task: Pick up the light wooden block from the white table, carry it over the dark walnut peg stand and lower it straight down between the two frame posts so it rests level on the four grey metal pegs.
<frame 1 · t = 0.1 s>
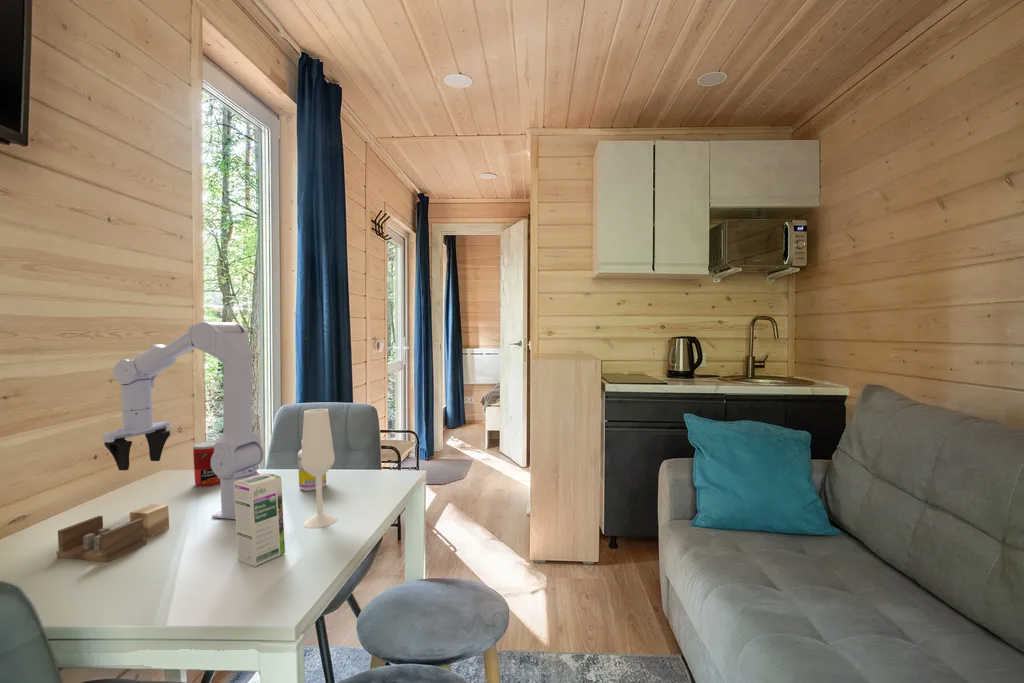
hand: (140, 465, 111), 10 cm above the table, fingers open, 7 cm apart
champagne flute: (320, 522, 99), on the table
supplement bottle: (312, 488, 122), on the table
canned food: (211, 483, 129), on the table
light wooden block: (150, 532, 96), on the table
syrup box: (261, 558, 84), on the table
stand: (102, 550, 88), on the table
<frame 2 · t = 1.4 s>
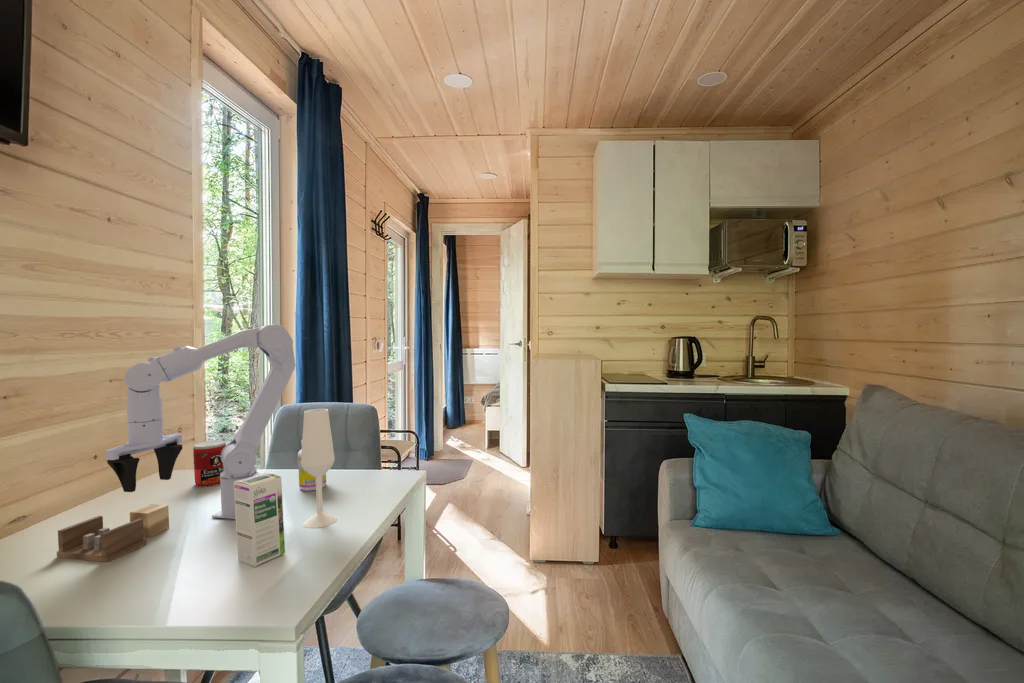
hand: (148, 485, 96), 10 cm above the table, fingers open, 7 cm apart
nothing on the table moved.
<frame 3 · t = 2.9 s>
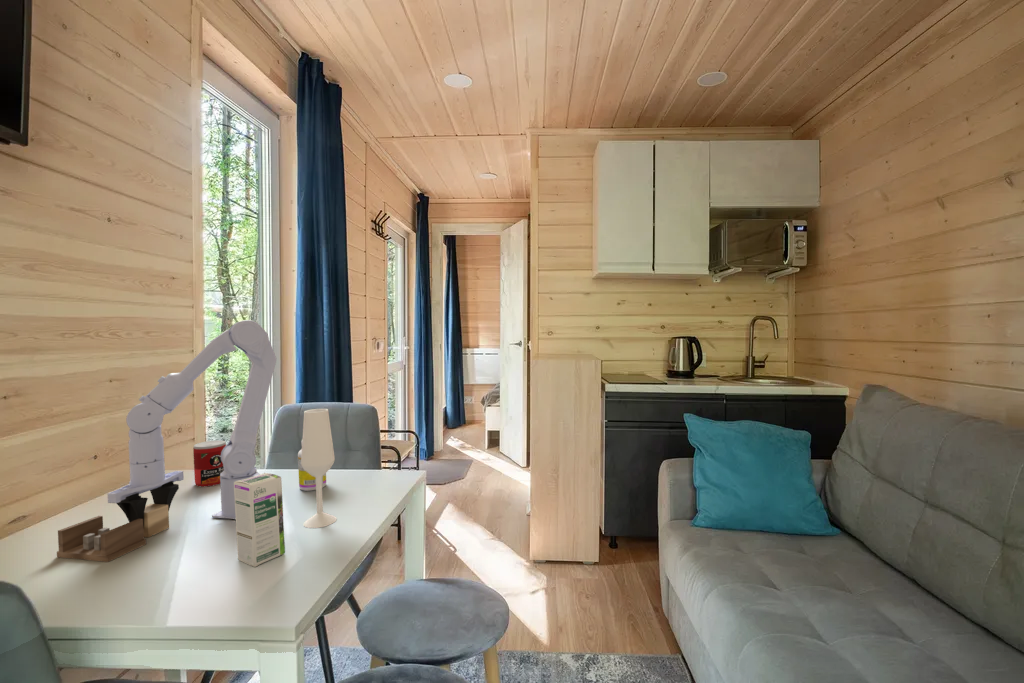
hand: (150, 525, 96), 1 cm above the table, fingers closed on light wooden block, 4 cm apart
light wooden block: (150, 531, 96), on the table, touching gripper
everything else where it was.
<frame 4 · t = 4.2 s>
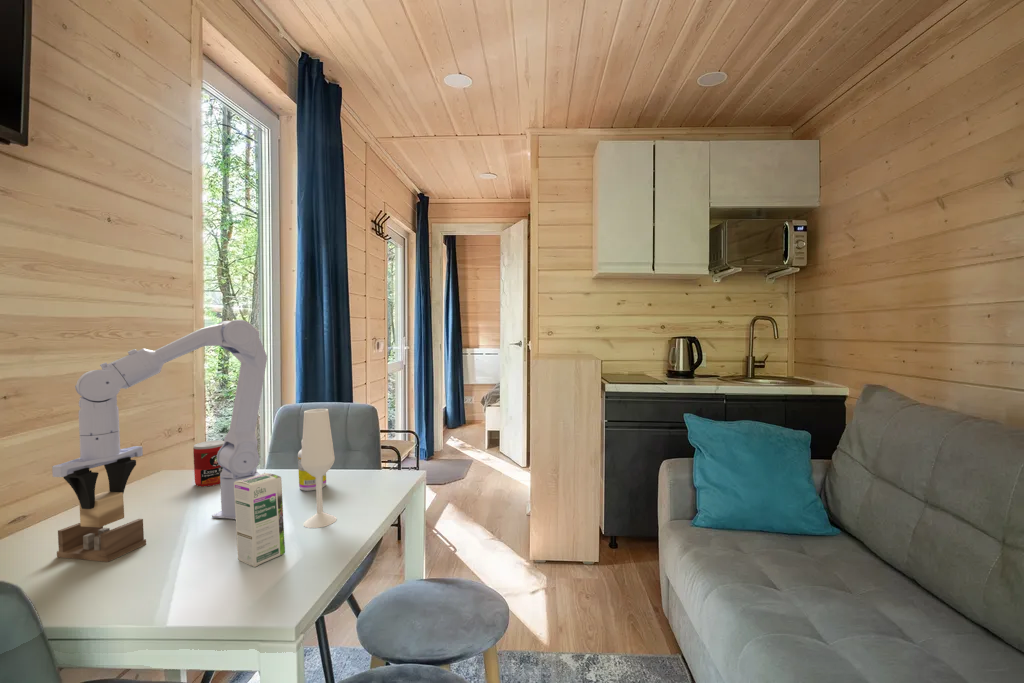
hand: (102, 503, 88), 9 cm above the table, fingers closed on light wooden block, 4 cm apart
light wooden block: (102, 522, 88), point 5 cm above the table, touching gripper
everything else where it was.
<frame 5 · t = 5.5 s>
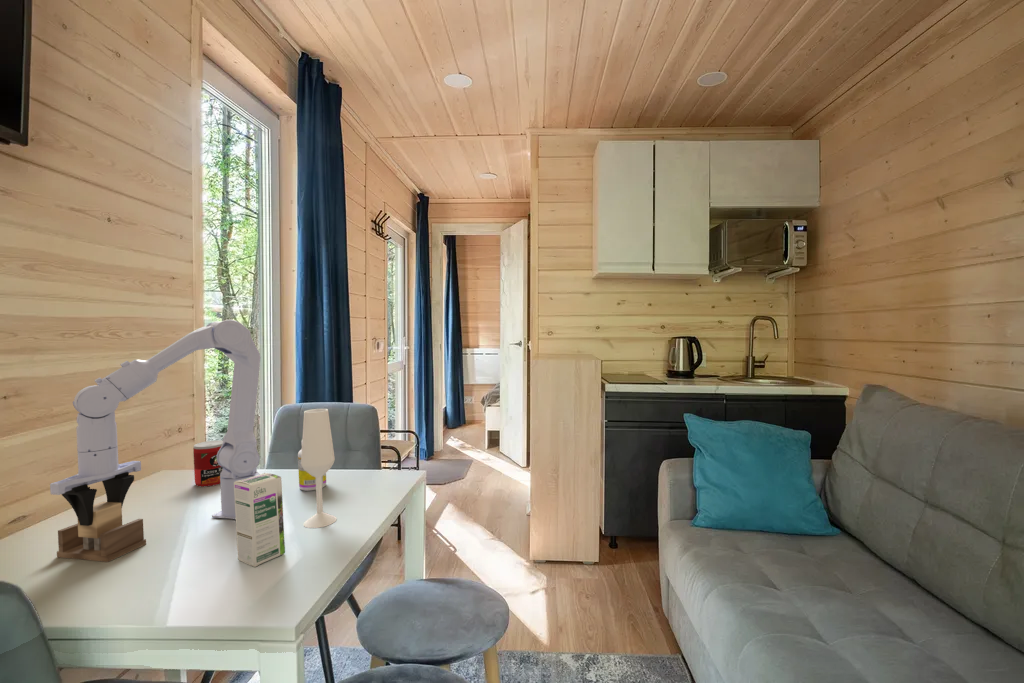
hand: (101, 519, 88), 6 cm above the table, fingers closed on light wooden block, 4 cm apart
light wooden block: (100, 532, 88), point 3 cm above the table, touching gripper, stand
everything else where it was.
when the fingers open (6 cm above the table, at t = 5.6 s): light wooden block stays where it is, resting on stand.
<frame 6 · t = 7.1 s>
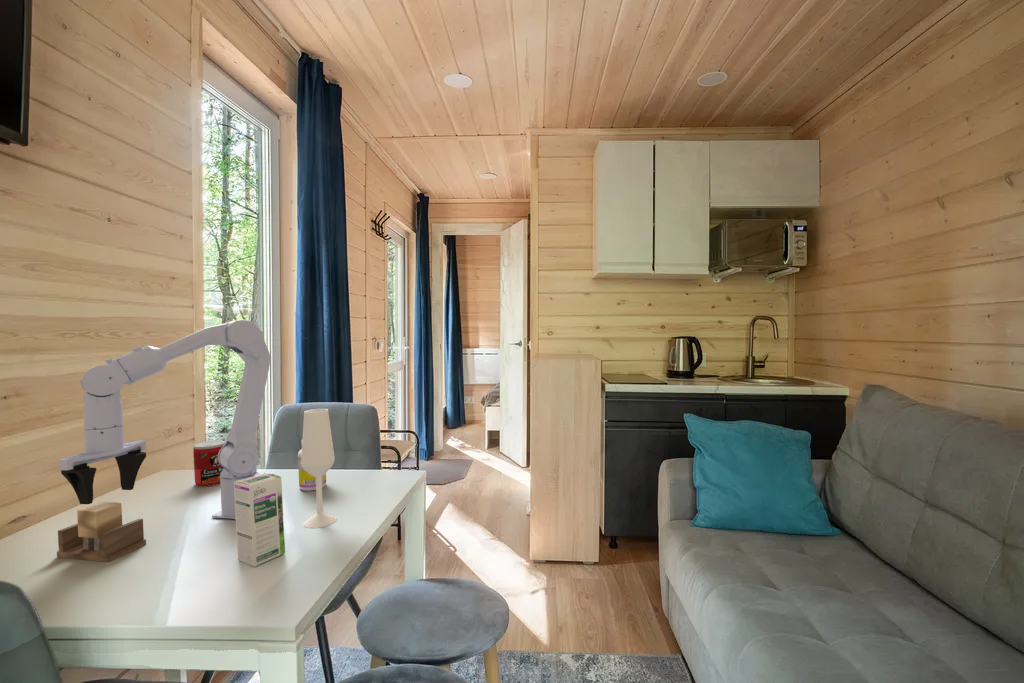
hand: (107, 496, 90), 10 cm above the table, fingers open, 7 cm apart
light wooden block: (100, 532, 88), point 3 cm above the table, touching stand
everything else where it was.
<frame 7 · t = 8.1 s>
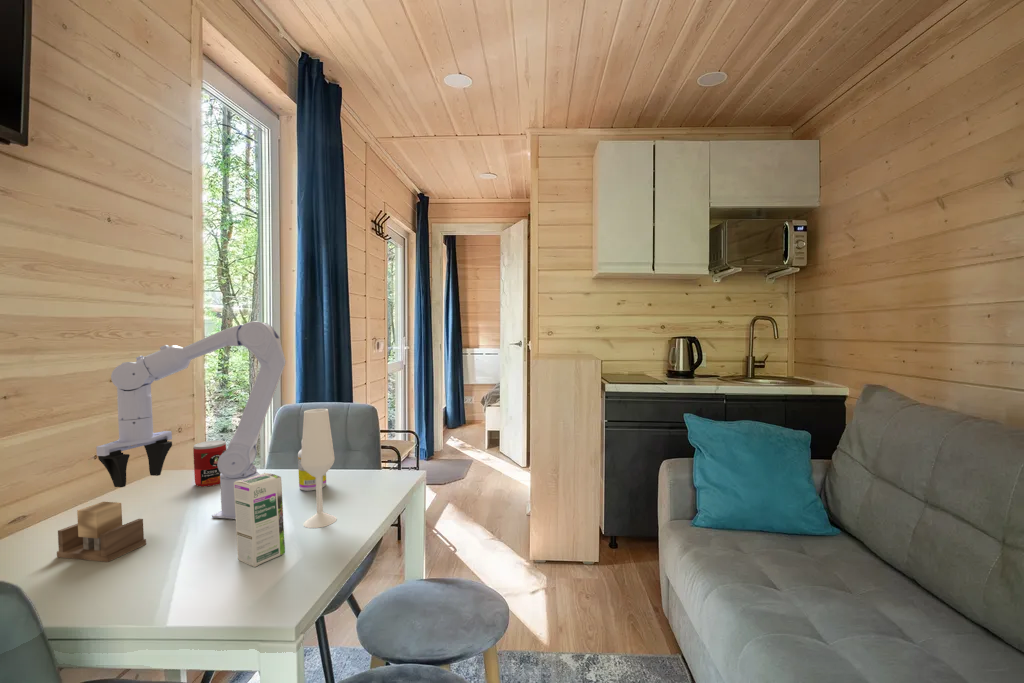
hand: (138, 480, 99), 10 cm above the table, fingers open, 7 cm apart
nothing on the table moved.
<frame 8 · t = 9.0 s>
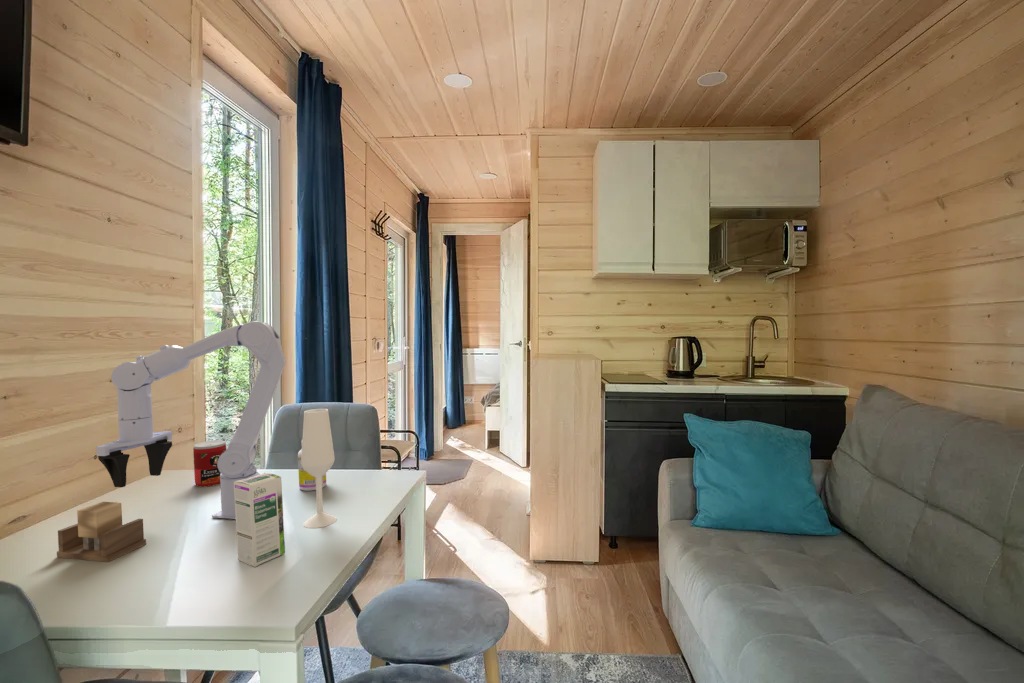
hand: (138, 480, 99), 10 cm above the table, fingers open, 7 cm apart
nothing on the table moved.
at the end: light wooden block 0.2 cm off-centre on the stand, point 3.5 cm above the stand's base; light wooden block tilted 0°; the gripper is holding nothing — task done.
